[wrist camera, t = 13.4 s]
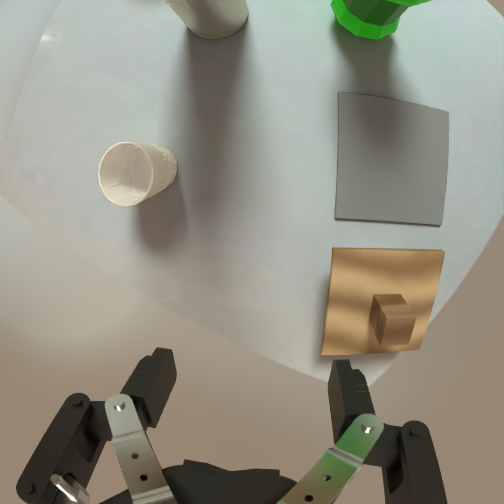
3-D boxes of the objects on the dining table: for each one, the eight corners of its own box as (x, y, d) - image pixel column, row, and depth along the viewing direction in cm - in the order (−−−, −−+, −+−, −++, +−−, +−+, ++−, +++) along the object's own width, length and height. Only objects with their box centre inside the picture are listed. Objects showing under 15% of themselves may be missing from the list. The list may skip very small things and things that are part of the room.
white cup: (154, 204, 42) (122, 219, 33) (125, 165, 41) (88, 172, 31) (192, 171, 40) (166, 178, 31) (161, 131, 39) (128, 128, 29)
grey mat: (337, 92, 34) (338, 91, 34) (446, 112, 33) (448, 111, 32) (334, 217, 41) (335, 217, 40) (440, 224, 39) (441, 225, 38)
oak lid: (332, 247, 35) (343, 269, 28) (441, 249, 34) (467, 269, 27) (321, 351, 40) (325, 383, 34) (417, 345, 39) (432, 373, 32)
